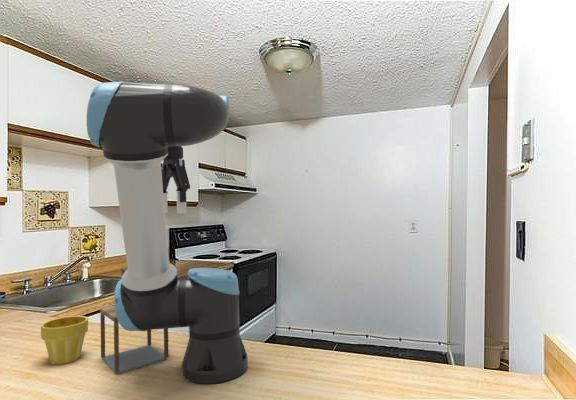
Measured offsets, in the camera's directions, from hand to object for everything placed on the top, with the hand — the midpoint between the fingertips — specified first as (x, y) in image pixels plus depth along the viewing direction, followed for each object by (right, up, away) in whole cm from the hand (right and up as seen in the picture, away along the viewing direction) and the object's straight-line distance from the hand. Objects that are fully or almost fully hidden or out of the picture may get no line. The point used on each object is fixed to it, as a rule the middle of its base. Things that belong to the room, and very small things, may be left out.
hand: (172, 213), depth 114 cm
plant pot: (-21, -37, -21) cm, 47 cm away
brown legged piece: (-2, -36, -22) cm, 42 cm away
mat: (-3, -36, -22) cm, 43 cm away
